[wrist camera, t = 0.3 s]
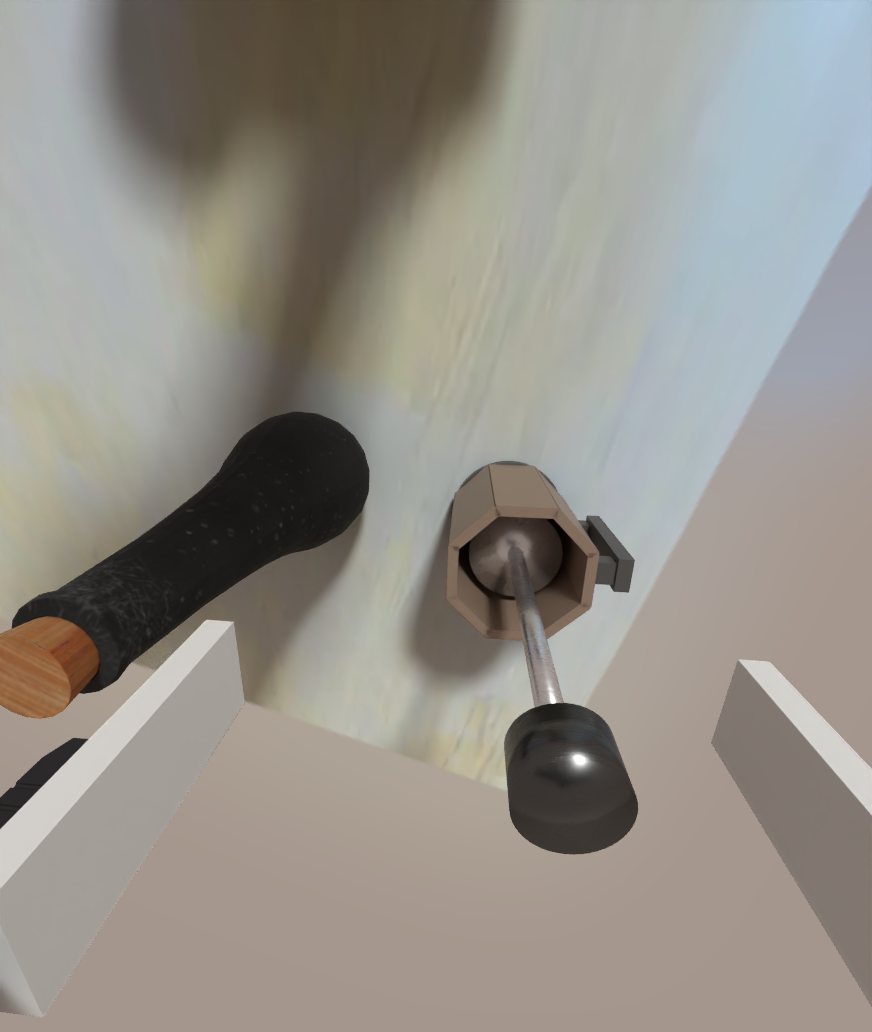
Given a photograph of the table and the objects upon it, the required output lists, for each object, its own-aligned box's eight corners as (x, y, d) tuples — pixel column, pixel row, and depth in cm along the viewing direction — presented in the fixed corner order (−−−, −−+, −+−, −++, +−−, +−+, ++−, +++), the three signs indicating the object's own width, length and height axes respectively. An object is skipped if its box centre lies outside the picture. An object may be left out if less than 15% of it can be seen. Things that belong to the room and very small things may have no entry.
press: (454, 458, 41) (447, 501, 29) (596, 464, 40) (650, 510, 28) (450, 560, 44) (442, 637, 32) (581, 567, 44) (624, 648, 31)
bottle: (347, 537, 44) (129, 852, 16) (250, 480, 43) (-171, 711, 15) (402, 446, 41) (248, 640, 13) (298, 381, 40) (-126, 436, 12)
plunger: (471, 505, 33) (471, 716, 14) (565, 509, 33) (706, 733, 13) (467, 588, 36) (461, 873, 16) (555, 593, 35) (662, 892, 15)
